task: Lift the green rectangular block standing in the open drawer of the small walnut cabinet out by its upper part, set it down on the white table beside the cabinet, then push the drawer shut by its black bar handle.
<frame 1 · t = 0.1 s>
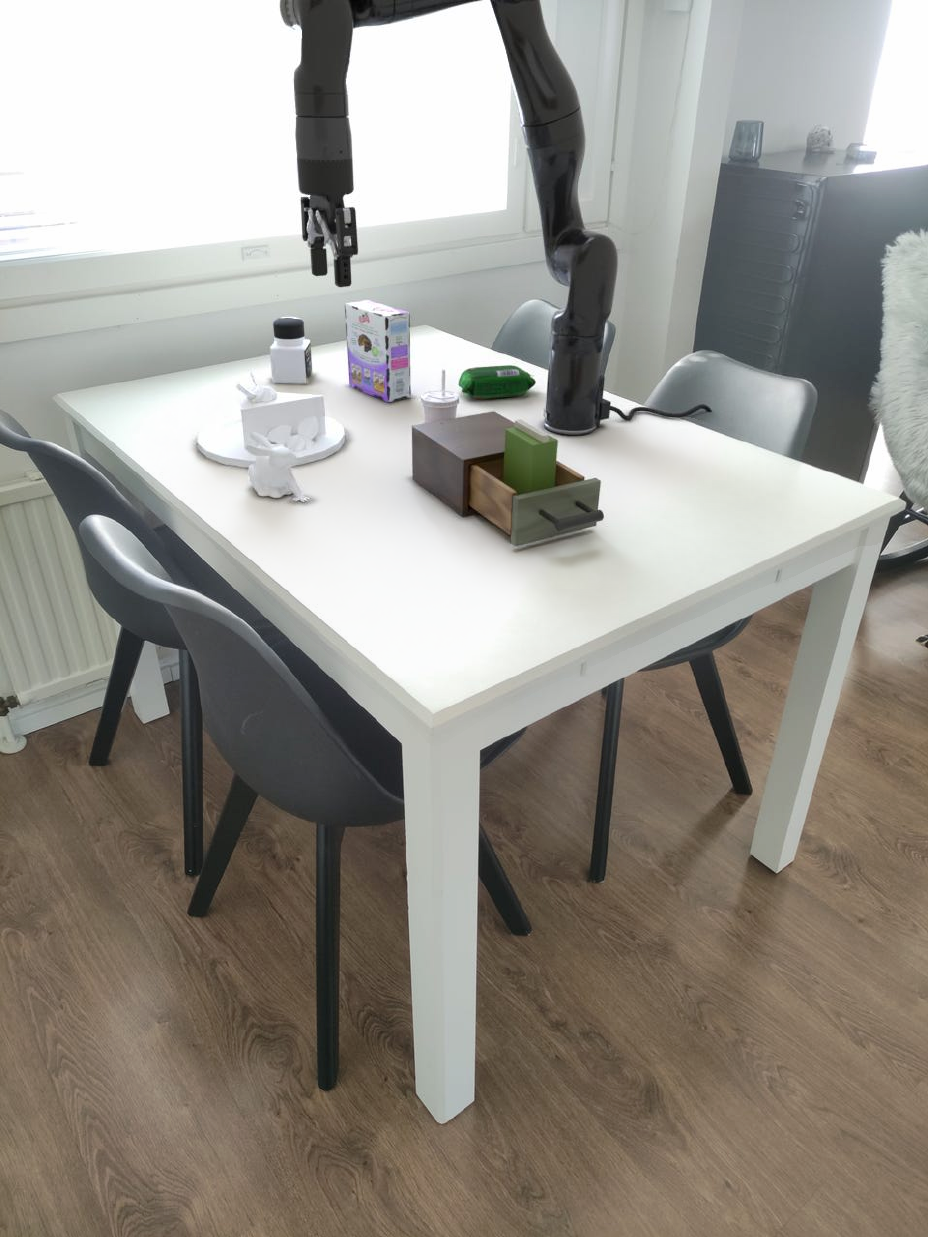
hand: (331, 280, 131), 29 cm above the table, tool pointing down, fingers open, 8 cm apart
dish: (272, 441, 158), on the table
smoothie: (439, 453, 154), on the table
green rectangular block: (526, 508, 131), point 2 cm above the table, touching drawer
snack package: (496, 395, 181), on the table
rabbit figurine: (270, 494, 139), on the table
candy box: (379, 393, 181), on the table
medicine bottle: (293, 379, 188), on the table
cabinet: (478, 488, 142), on the table
drawer: (539, 500, 127), point 4 cm above the table, slide at 12.0 cm, touching green rectangular block
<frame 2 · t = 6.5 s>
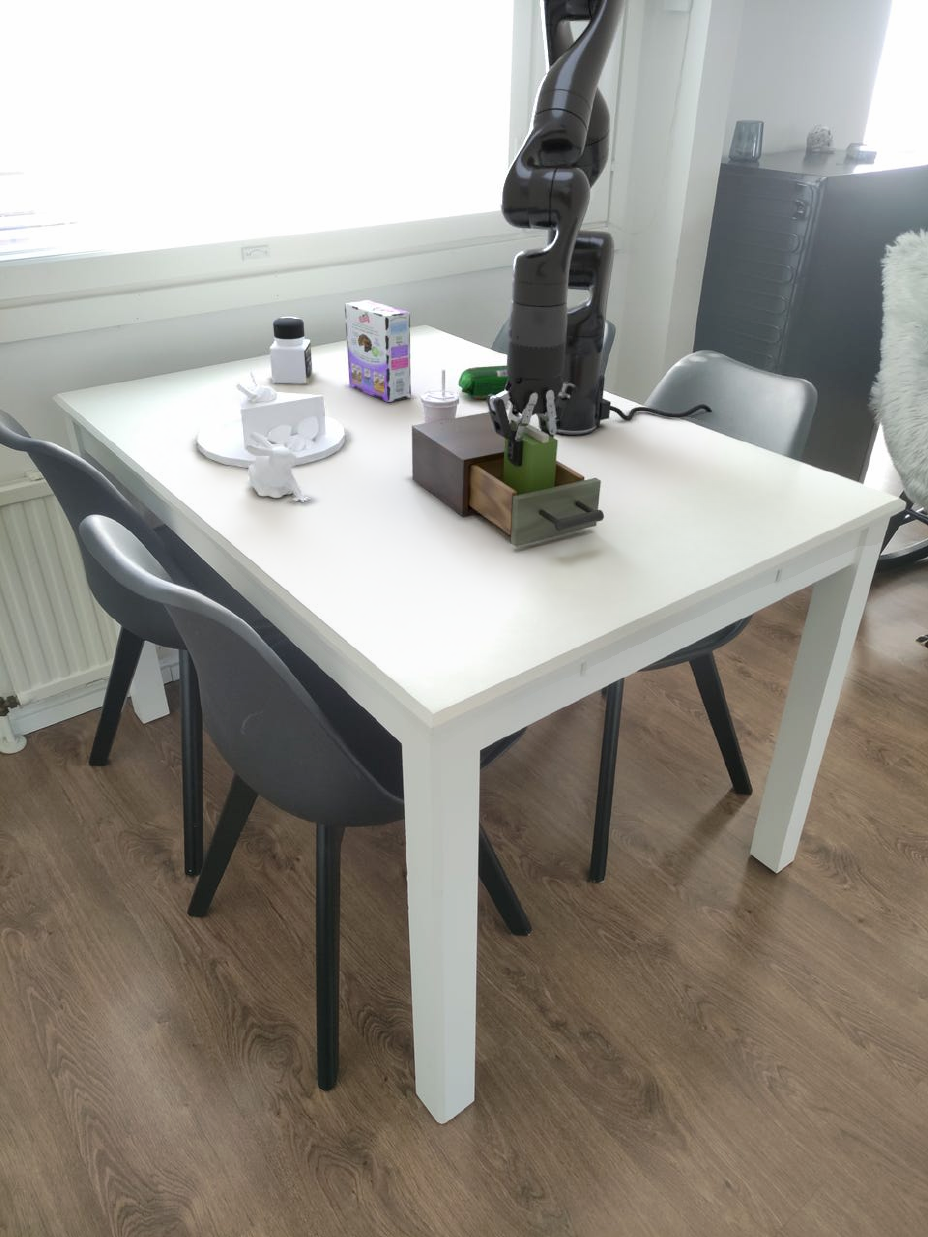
hand: (529, 461, 127), 9 cm above the table, tool pointing down, fingers closed on green rectangular block, 4 cm apart
green rectangular block: (526, 507, 131), point 2 cm above the table, touching drawer, gripper
everything else where it was.
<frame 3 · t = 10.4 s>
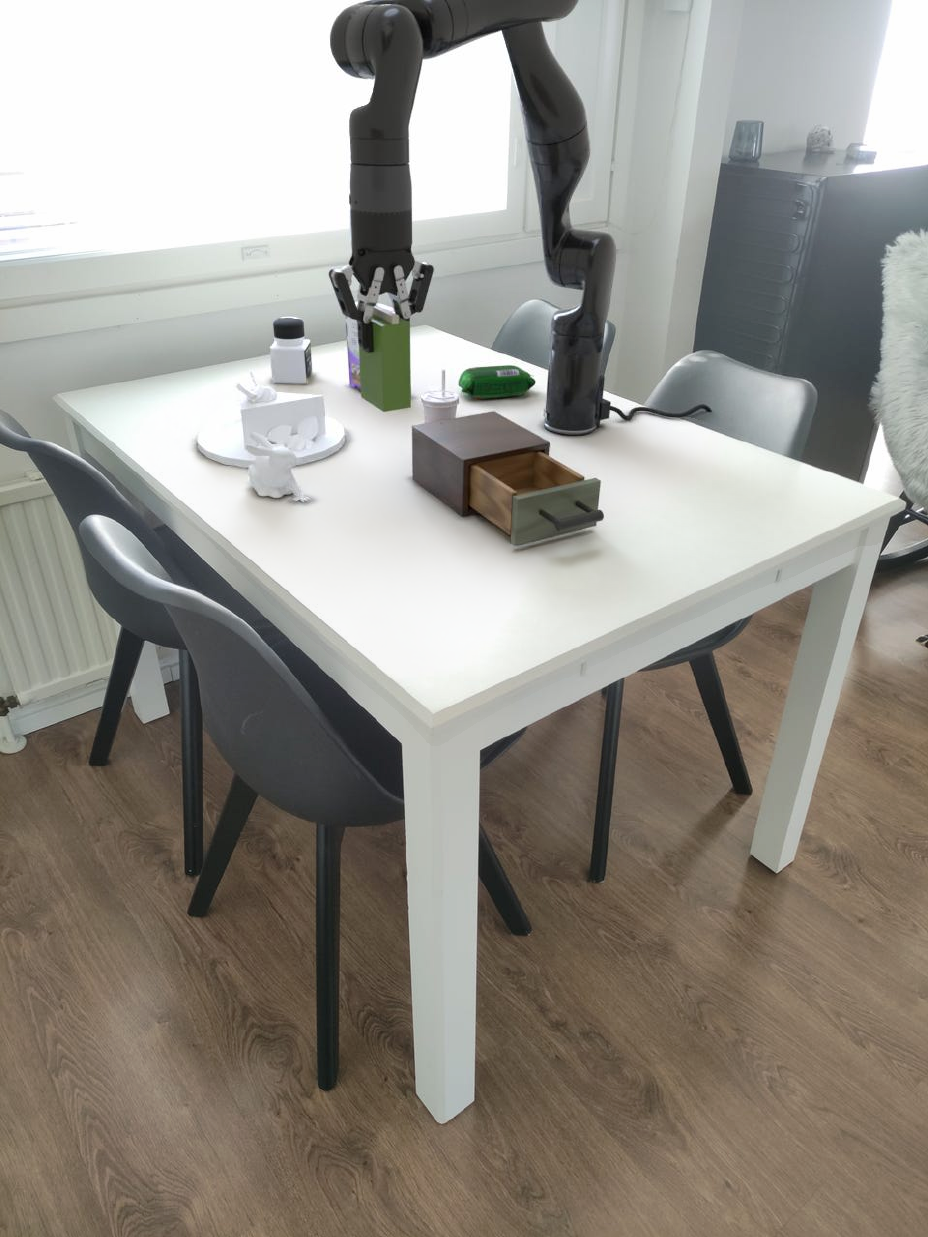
hand: (384, 348, 118), 25 cm above the table, tool pointing down, fingers closed on green rectangular block, 4 cm apart
green rectangular block: (385, 402, 122), point 17 cm above the table, touching gripper
drawer: (539, 500, 127), point 4 cm above the table, slide at 12.0 cm
everything else where it was.
when the fingers open (7 cm above the table, at t = 14.6 s): green rectangular block stays where it is, on the table.
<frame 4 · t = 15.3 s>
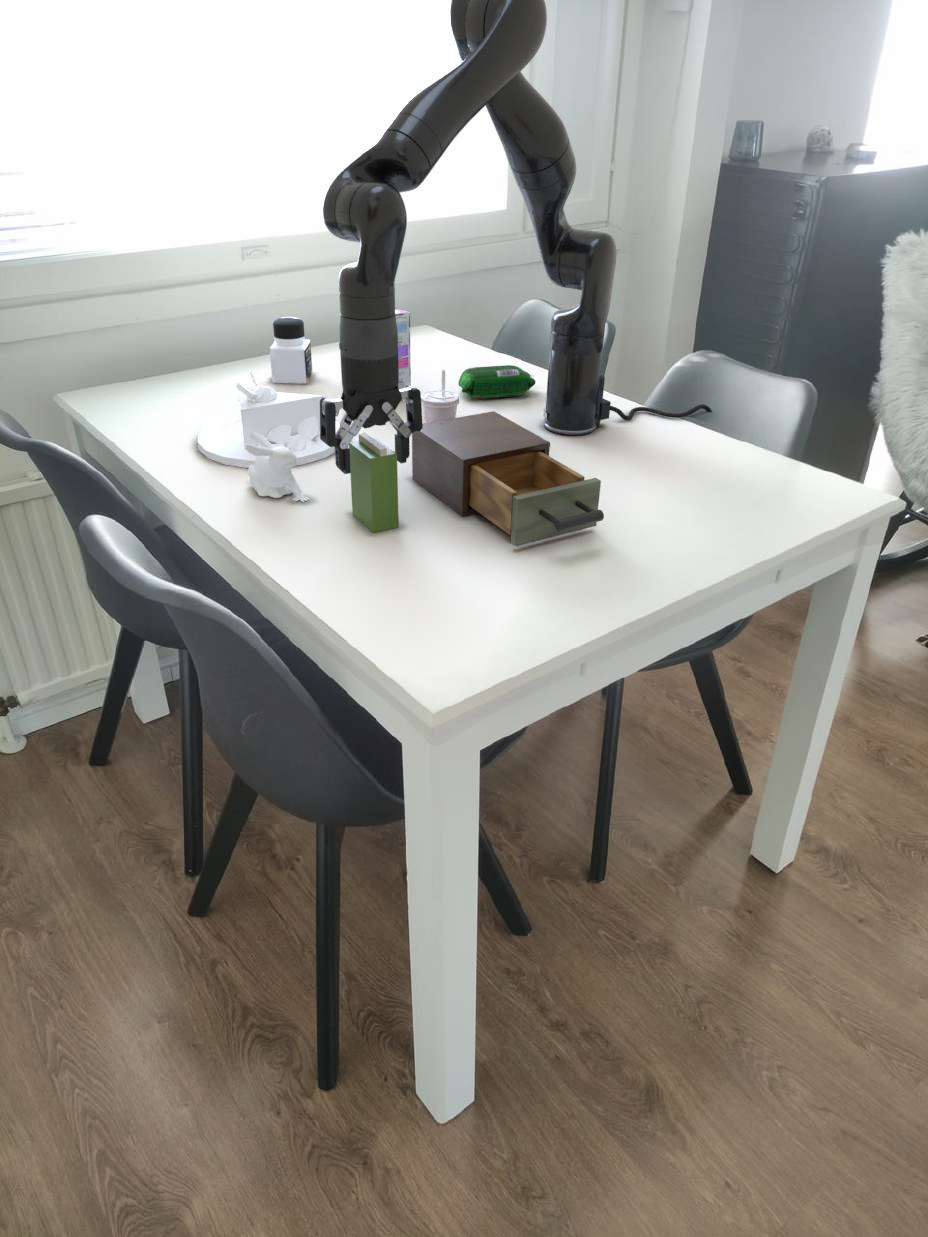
hand: (373, 466, 127), 8 cm above the table, tool pointing down, fingers open, 8 cm apart
green rectangular block: (375, 520, 131), on the table
everything else where it was.
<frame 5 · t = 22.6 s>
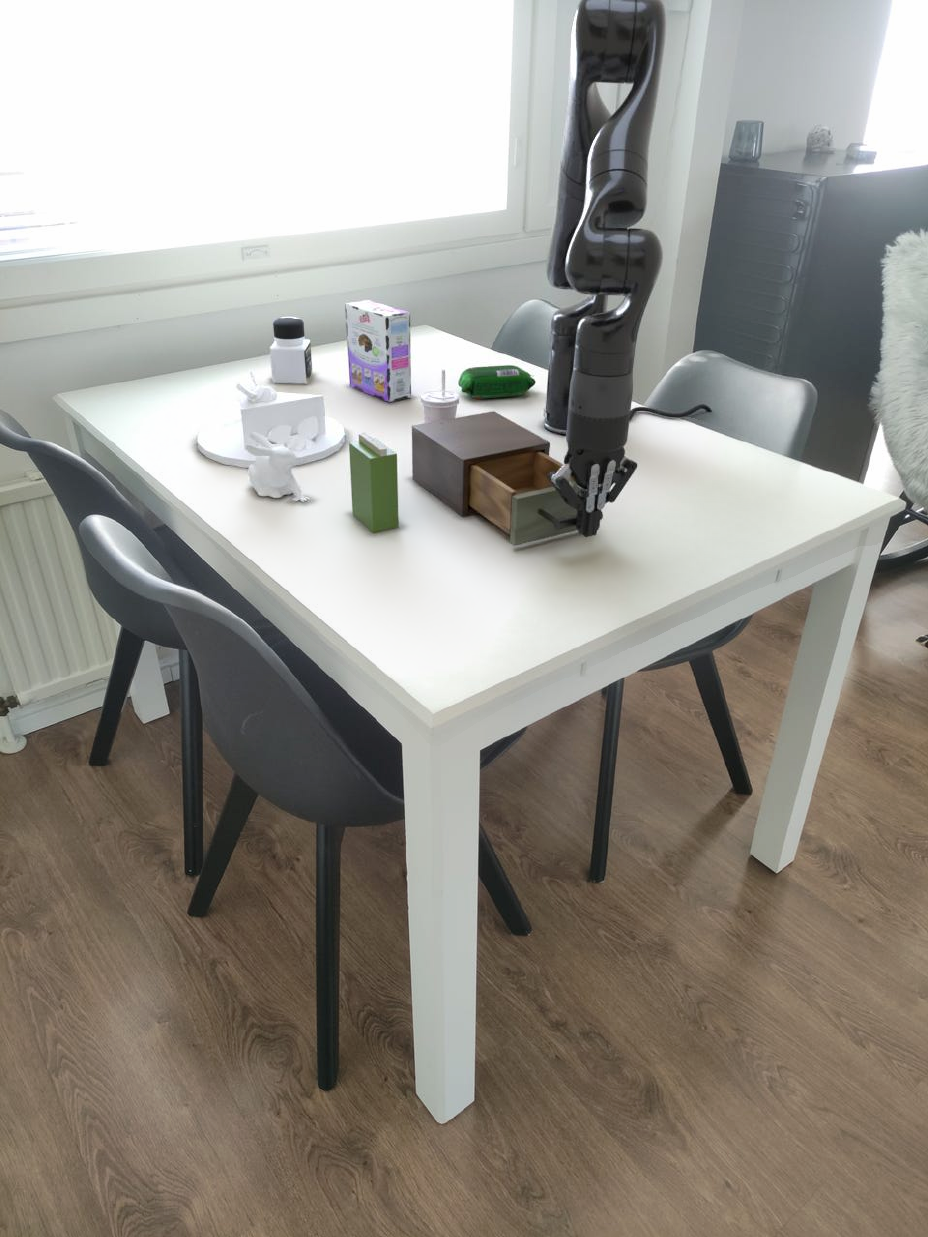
hand: (587, 533, 120), 4 cm above the table, tool pointing down, fingers closed
drawer: (538, 500, 127), point 4 cm above the table, slide at 11.8 cm, touching gripper
everything else where it was.
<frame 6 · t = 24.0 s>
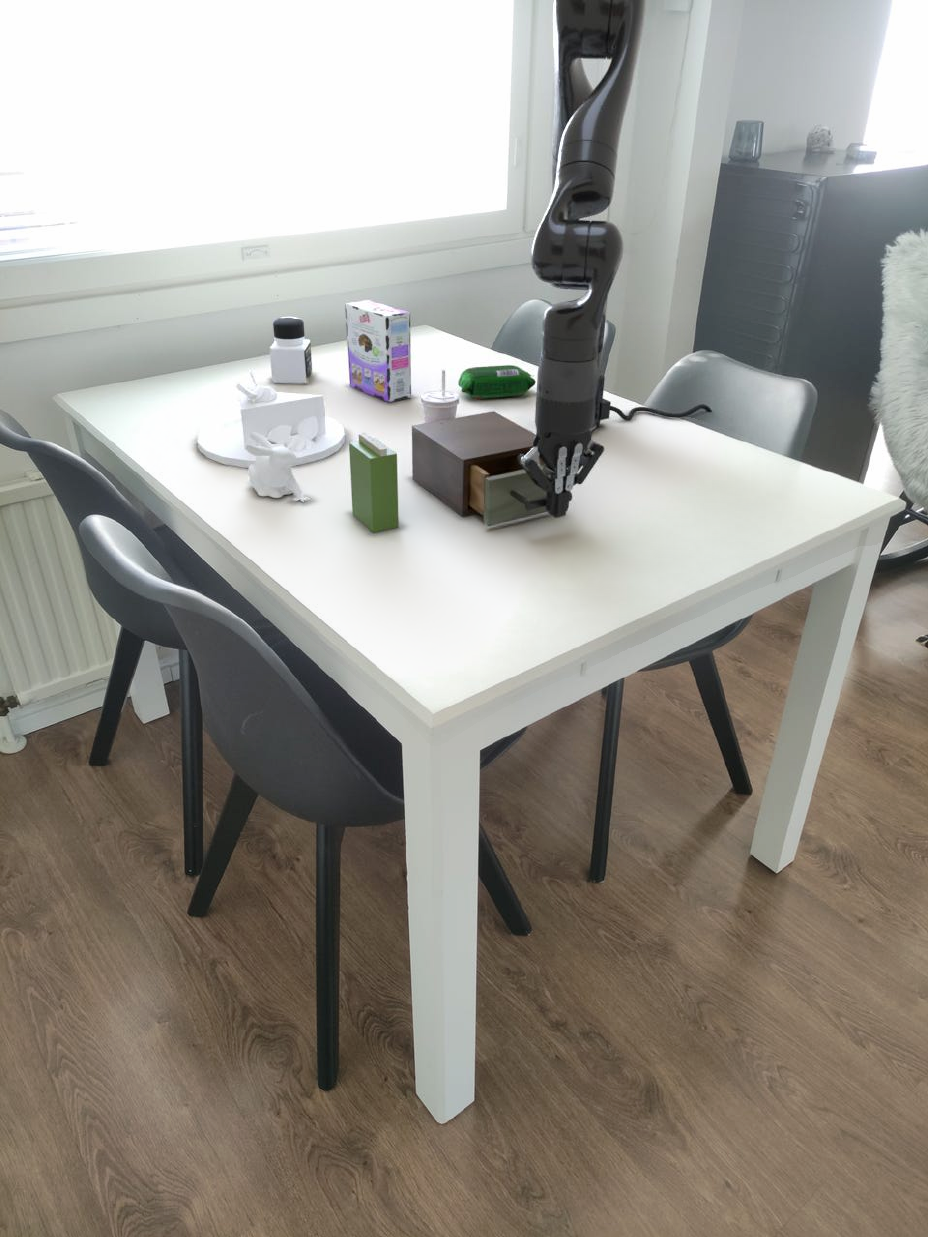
hand: (556, 514, 125), 4 cm above the table, tool pointing down, fingers closed
drawer: (512, 482, 132), point 4 cm above the table, slide at 4.9 cm, touching gripper
everything else where it was.
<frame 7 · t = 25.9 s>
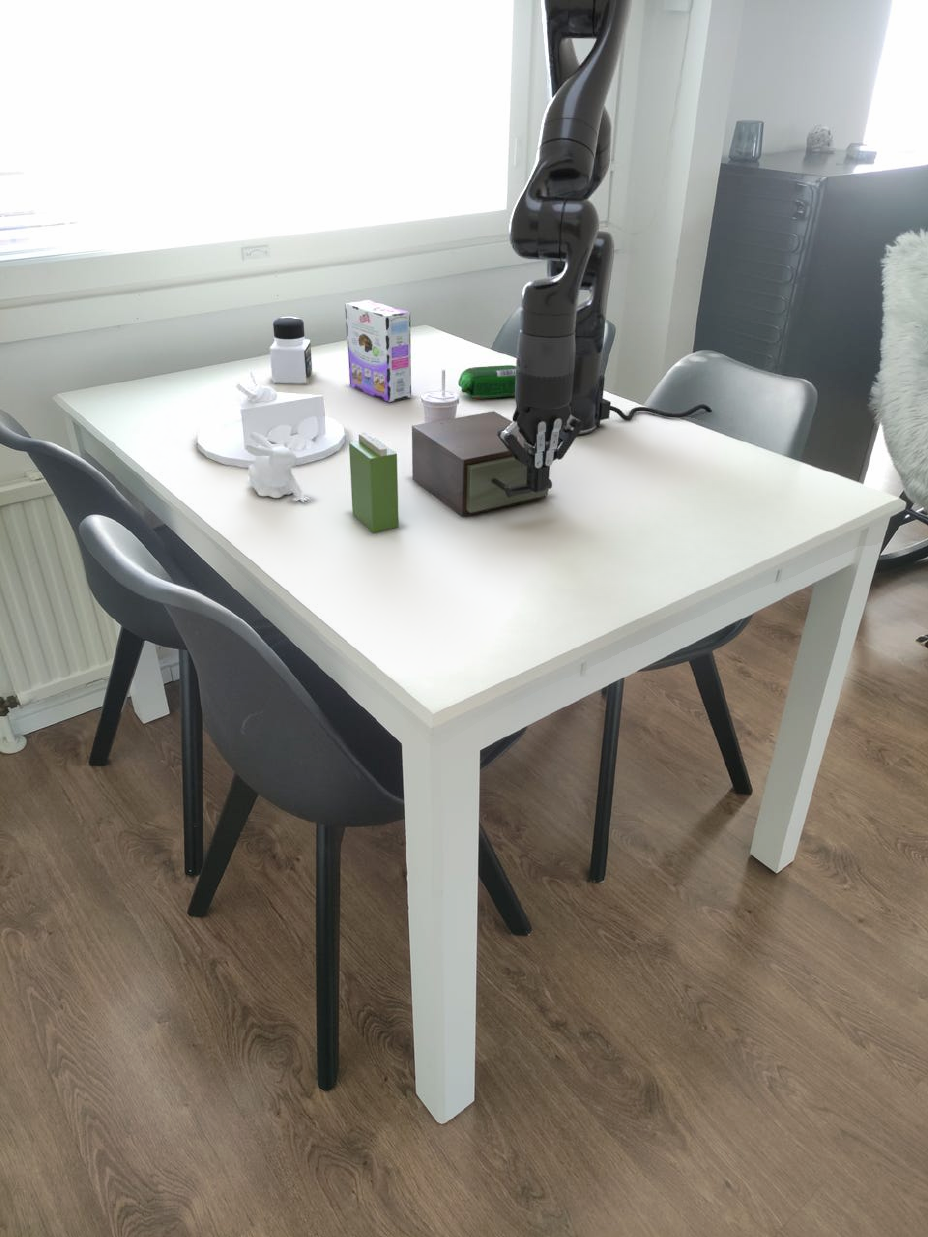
hand: (537, 489, 127), 6 cm above the table, tool pointing down, fingers closed
drawer: (494, 471, 136), point 4 cm above the table, slide at 0.0 cm, touching cabinet
everything else where it was.
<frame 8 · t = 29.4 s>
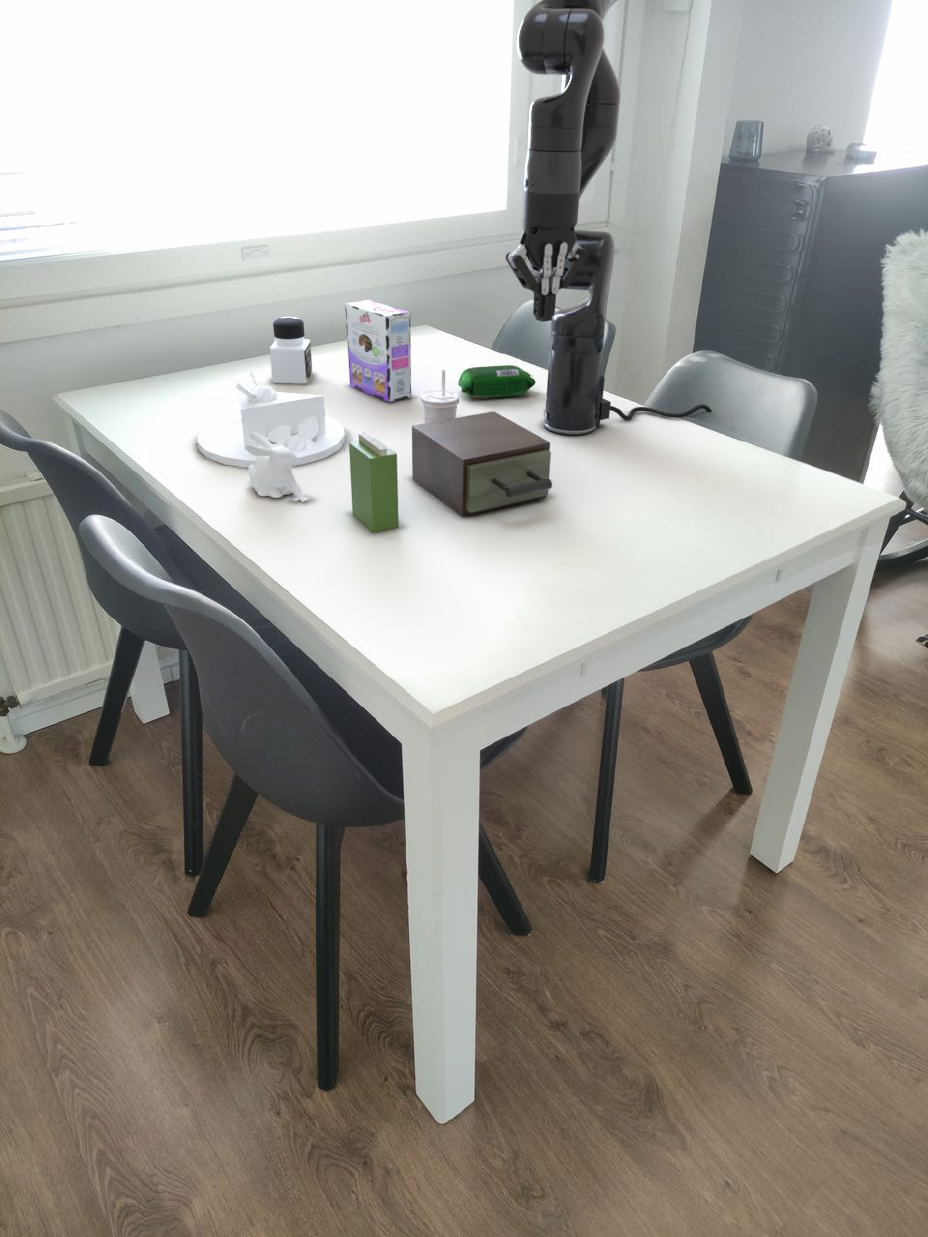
hand: (543, 319, 131), 25 cm above the table, tool pointing down, fingers closed
nothing on the table moved.
at the end: green rectangular block inside the target area (0.1 cm from its centre), on the table; green rectangular block touching table; drawer slide at 0.0 cm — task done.
